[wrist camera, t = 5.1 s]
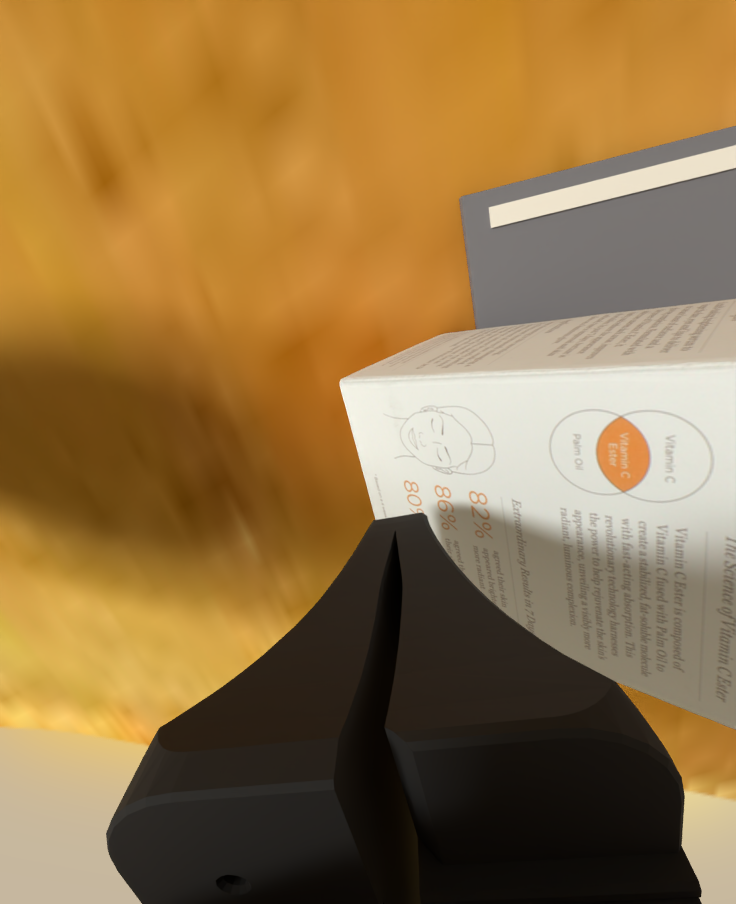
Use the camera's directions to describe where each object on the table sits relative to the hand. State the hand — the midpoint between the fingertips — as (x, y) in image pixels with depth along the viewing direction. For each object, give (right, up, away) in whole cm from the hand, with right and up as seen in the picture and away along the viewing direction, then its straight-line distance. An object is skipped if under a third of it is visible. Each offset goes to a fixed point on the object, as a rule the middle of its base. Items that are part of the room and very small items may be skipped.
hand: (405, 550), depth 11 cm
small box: (+1, +2, +5) cm, 6 cm away
